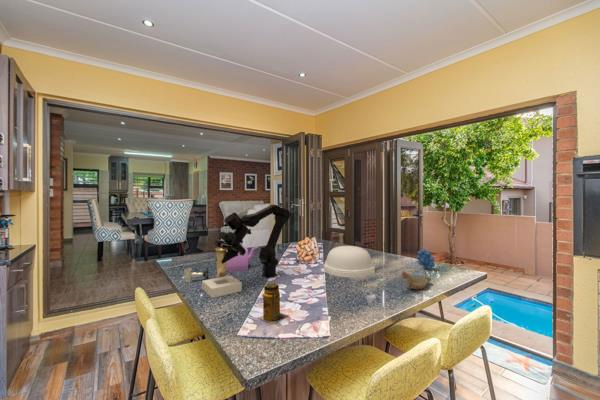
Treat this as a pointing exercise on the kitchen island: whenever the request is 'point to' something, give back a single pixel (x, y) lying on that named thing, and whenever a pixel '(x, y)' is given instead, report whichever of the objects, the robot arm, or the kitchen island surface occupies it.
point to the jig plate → (221, 286)
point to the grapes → (425, 259)
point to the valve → (194, 274)
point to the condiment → (271, 304)
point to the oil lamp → (415, 281)
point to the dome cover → (349, 262)
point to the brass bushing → (220, 255)
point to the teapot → (240, 261)
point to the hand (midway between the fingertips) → (219, 262)
